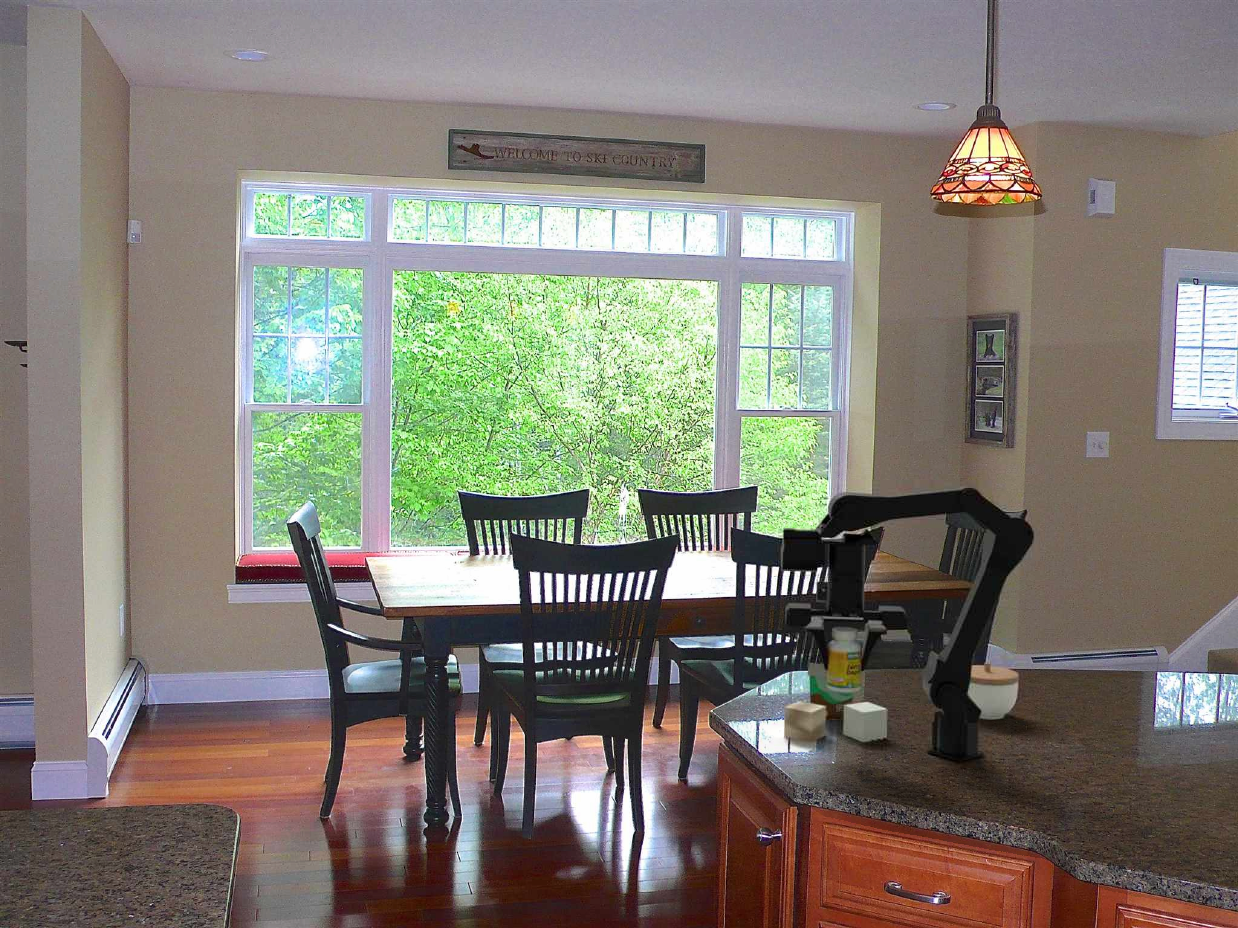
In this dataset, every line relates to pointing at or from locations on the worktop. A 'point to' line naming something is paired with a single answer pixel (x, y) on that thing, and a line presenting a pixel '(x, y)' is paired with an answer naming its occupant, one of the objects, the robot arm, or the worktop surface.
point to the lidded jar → (993, 690)
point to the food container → (826, 693)
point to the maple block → (805, 721)
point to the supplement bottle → (844, 661)
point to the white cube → (865, 721)
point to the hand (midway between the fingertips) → (844, 669)
